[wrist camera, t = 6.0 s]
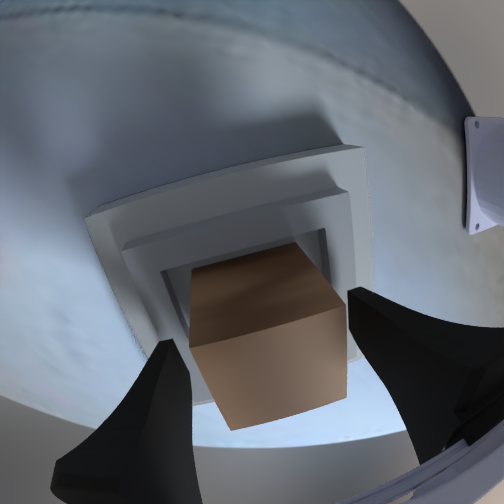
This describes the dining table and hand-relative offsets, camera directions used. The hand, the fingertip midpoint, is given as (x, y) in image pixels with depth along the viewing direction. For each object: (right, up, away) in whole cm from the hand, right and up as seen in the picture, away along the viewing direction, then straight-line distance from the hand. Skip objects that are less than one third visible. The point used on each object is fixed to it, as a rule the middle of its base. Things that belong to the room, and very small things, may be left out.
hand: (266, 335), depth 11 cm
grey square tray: (-1, +2, +4) cm, 4 cm away
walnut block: (0, +1, +2) cm, 2 cm away
